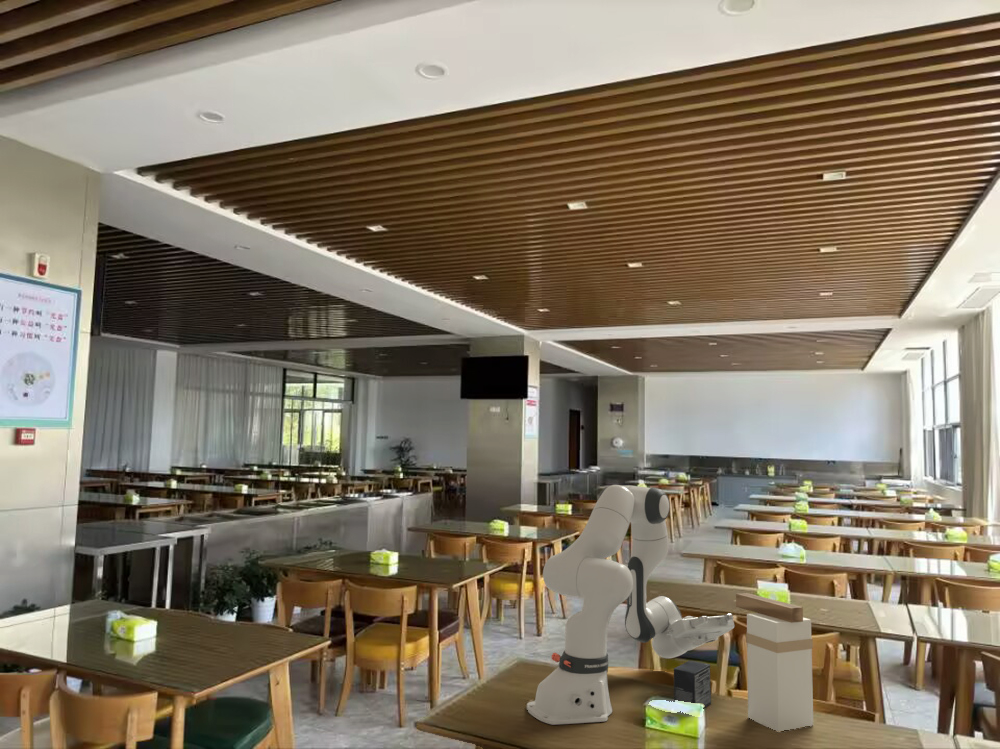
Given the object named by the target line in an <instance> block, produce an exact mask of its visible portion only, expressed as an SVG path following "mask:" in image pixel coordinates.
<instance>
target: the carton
mask: <svg viewBox="0 0 1000 749" xmlns="http://www.w3.org/2000/svg"><path fill="white" fill-rule="evenodd" d="M745 638H746V639H745V642H746V653H747V655H746V656H747V657H746V658H747V667H746V668H747V669H746V670H747V718H748V719H749V718H750V720H751V719H752V720H751V721H753V720H754V721H753V722H755V723H757V724H760V725H762V726H765V727H766V728H768V727H769V728H768V729H770V728H771V730H772V729H773V731H774V730H776V731H778V732H777V733H780V732H779V731H784V730H789V731H791V730H790V729H794V730H797V729H796V728H799V729H801V728H800V727H805V726H810V727H813V726H814V700H813V699H814V696H813V693H814V692H813V691H814V689H813V688H814V686H813V647H814V646H813V638H812V619H810V618H806V617H804V616H803V622H793V623H791V622H787V621H784V620H780V619H777V618H773V617H770V616H767V615H763V614H760V613H756V612H753V613H746V633H745ZM812 725H813V726H812ZM805 728H806V727H805ZM776 731H775V732H776ZM784 732H785V731H784Z"/></svg>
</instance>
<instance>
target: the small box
mask: <svg viewBox="0 0 1000 749" xmlns="http://www.w3.org/2000/svg"><path fill="white" fill-rule="evenodd" d="M711 693H712V692H711V664H709V663H704V662H699V661H694V660H688V661H686V662H684V663H682V664H680V665H678V666H676V667H674V668H673V701H674V700H678V701H684V702H691V703H703V704H704V705H705V708H707V707H708V706H711V704H712V694H711Z"/></svg>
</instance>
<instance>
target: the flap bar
mask: <svg viewBox="0 0 1000 749" xmlns="http://www.w3.org/2000/svg"><path fill="white" fill-rule="evenodd" d="M735 600H736V601H735V607H736V608H738V609H742V610H746V611H750V612H752V613H760V614H763V615H767V616H770V617H773V618H777V619H780V620H784V621H787V622H791V623H793V622H803V617H804V612H803V611H804V608H803V606H800V605H795V604H791V603H789V602H788V603H787V602H783V601H779V600H776V599H773V598H769V597H764V596H760V595H757V594H756V595H755V594H754V593H753V594H752V593H749V592H741V593H736V594H735Z"/></svg>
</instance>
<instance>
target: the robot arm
mask: <svg viewBox="0 0 1000 749" xmlns="http://www.w3.org/2000/svg"><path fill="white" fill-rule="evenodd" d="M670 504H671V503H670V498H669V496H668V495H667V493H666V492H665V491H664V490H662V489H660V488H657V487H646V486H639V485H638V486H637V485H631V484H630V485H629V484H628V485H619V484H612V485H608V486H606V487H604V488H603V489H602V490H601V491H600V492H599V494H598V497H597V501H596V503H595V505H594V506H593V509H592V511H591V514H590V516H589V517H588V520H587V522H586V524H585V526H584V528H583V530H582V532H581V534H580V535H579V537H577V539H576V540H574V542H573V543H572V544H570V545H569V546H568V547H567V548H565V549H564V550H562V551H561V552H558V553H557V554H556V553H555V554H554V555H551V556H550V557H549V558H548V559H547V560H546V561H545V564H544V566H543V570H542V578H543V581H544V582H543V583H544V584H545V587H546V589H548V590H550V591H551V592H553V593H557V594H559V595H561V596H565V597H569V598H570V597H571V598H577V599H582V601H583V605H582V609H581V611H578V612H576V613H574V614H572V615H570V616H569V618H568V619H567V620H566V623H565V626H564V627H565V628H564V629H565V631H564V650H563V653H562V654H561V655H560V654H559V653H557V652H552V654H551V658H550V659H551V660H552V662H553V661H554V662H555V663H558V667H557V668H555V669H554V670H553V671H552V672H551V673H550V674H548V676H546V677H545V678H544V679H543V680H541V682H540V683H538V685H537V688H536V693H535V699H534V700H533V701H529V702H527V703H526V711H527V710H528V711H527V712H528V713H529V714H530V716H532V717H534V718H536V719H537V720H539V721H540V722H542V723H545V724H549V725H569V724H570V725H571V724H584V723H585V724H586V723H600V722H607V721H608V719H609V716H610V715H611V714H612V712H613V707H612V704H611V700H610V693H609V685H608V684H609V683H608V670H609V655H608V652H607V648H608V647H607V645H608V630H609V623H610V620H611V617H612V615H613V613H614V612H615V610H616V609H617V608H618V606H619V605H621V604H622V603H624V602H626V611H625V617H624V626H625V627H624V628H625V631H626V632H627V634H628V635H629V636H630V637H631V639H634V640H635V641H637V642H639V643H644V644H645V643H648V642H650V641H651V640H652V642H651V647H652V649H653V651H654V653H656V655H658V656H659V657H661V658H664V659H673V658H677V657H680V656H682V655H683V654H686V653H687V652H688V651H692V650H694V649H696V648H699V647H702V645H705V644H707V643H712V642H715V641H718V639H719V637H721V636H723V635H725V634H727V633H728V632H731V630H732V631H733V629H734V628H735V622H734V617H733V614H732V613H726V614H723V615H714V616H707V615H702V616H699V617H696V616H691V615H687V616H684V617H683V616H682V612H681V610H680V608H679V607H678V606H677V604H676V603H675V602H674V601H673V600H672V599H671V598H670V597H668V596H665V595H658V596H657V597H654V598H653V599H650V600H649V601H647V584H648V580H649V579H650V576H651V575H652V574H653V572H654V571H655V569H657V567H659V565H661V563H663V562H664V560H665V559H666V558H667V555H669V546H670V542H669V541H670V540H669V532H668V527H667V522H666V519H667V518H668V516H669V513H670V506H671V505H670ZM630 527H631V528H630ZM629 528H630V529H631V531H630V532H631V537H632V538H631V539H632V545H631V546H632V547H631V554H630V558H629V559H628V563H627V565H625V564H623V563H620V562H618V561H615V560H611V559H606V558H610V557H612V556H614V555H616V554H617V553H618V552H619V551H620V549H621V547H622V545H623V542H624V540H625V537H626V535H627V533H628V529H629Z"/></svg>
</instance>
